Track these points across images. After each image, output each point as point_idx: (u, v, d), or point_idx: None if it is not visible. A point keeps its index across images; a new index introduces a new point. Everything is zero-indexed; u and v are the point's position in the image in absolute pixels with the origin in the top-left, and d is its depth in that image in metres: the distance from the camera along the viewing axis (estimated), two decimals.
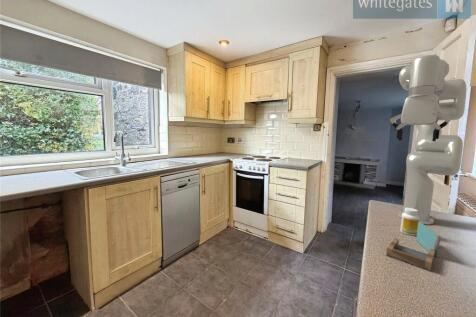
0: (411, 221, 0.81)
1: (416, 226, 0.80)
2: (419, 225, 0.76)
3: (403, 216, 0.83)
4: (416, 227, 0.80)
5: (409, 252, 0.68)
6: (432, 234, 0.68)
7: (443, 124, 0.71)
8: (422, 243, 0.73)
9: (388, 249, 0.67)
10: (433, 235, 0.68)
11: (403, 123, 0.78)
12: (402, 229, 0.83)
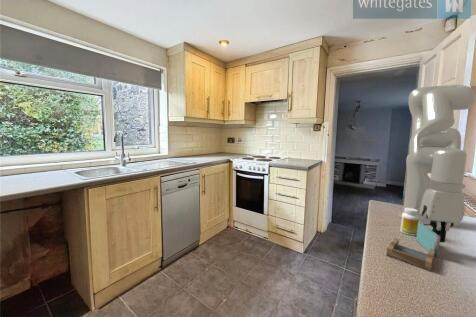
0: (411, 221, 0.81)
1: (416, 226, 0.80)
2: (419, 225, 0.76)
3: (403, 216, 0.83)
4: (416, 227, 0.80)
5: (409, 252, 0.68)
6: (432, 234, 0.68)
7: None
8: (422, 243, 0.73)
9: (388, 249, 0.67)
10: (433, 235, 0.68)
11: (431, 219, 0.68)
12: (402, 229, 0.83)
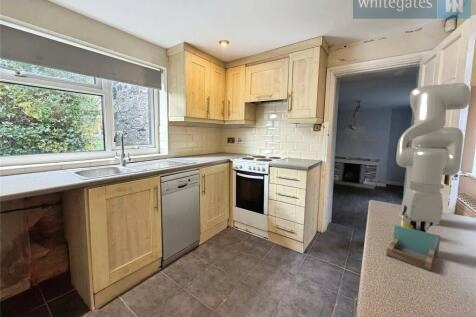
0: None
1: None
2: (398, 228, 0.73)
3: None
4: None
5: (409, 252, 0.68)
6: (429, 235, 0.67)
7: None
8: (408, 246, 0.71)
9: (388, 249, 0.67)
10: (431, 236, 0.67)
11: (410, 219, 0.70)
12: None
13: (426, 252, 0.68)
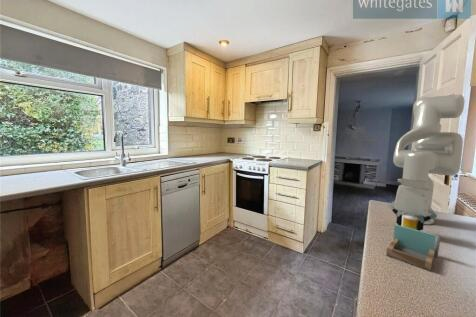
0: (411, 221, 0.80)
1: (416, 226, 0.80)
2: (398, 228, 0.73)
3: (403, 216, 0.83)
4: (416, 227, 0.80)
5: (409, 252, 0.68)
6: (429, 235, 0.67)
7: None
8: (408, 246, 0.71)
9: (388, 249, 0.67)
10: (431, 236, 0.67)
11: None
12: None
13: (426, 252, 0.68)
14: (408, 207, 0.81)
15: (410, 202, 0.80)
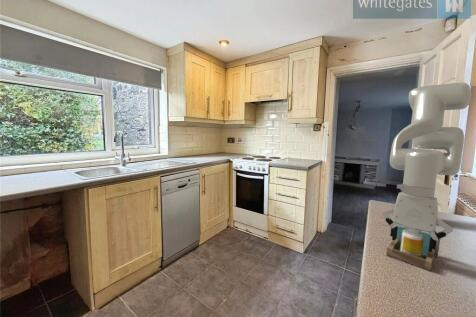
0: (413, 242, 0.64)
1: (420, 248, 0.64)
2: (398, 228, 0.73)
3: (403, 234, 0.66)
4: (420, 249, 0.64)
5: None
6: (429, 235, 0.67)
7: None
8: None
9: (388, 249, 0.67)
10: None
11: None
12: (403, 250, 0.66)
13: (426, 252, 0.68)
14: (410, 220, 0.64)
15: (412, 214, 0.63)
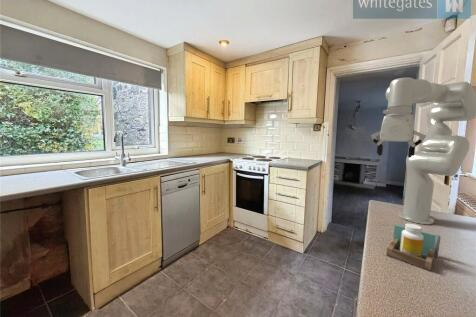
0: (413, 242, 0.64)
1: (420, 248, 0.64)
2: (398, 228, 0.73)
3: (403, 234, 0.66)
4: (420, 249, 0.64)
5: None
6: (429, 235, 0.67)
7: None
8: None
9: (388, 249, 0.67)
10: (431, 236, 0.67)
11: None
12: (403, 250, 0.66)
13: (426, 252, 0.68)
14: (393, 135, 0.80)
15: (394, 130, 0.79)
